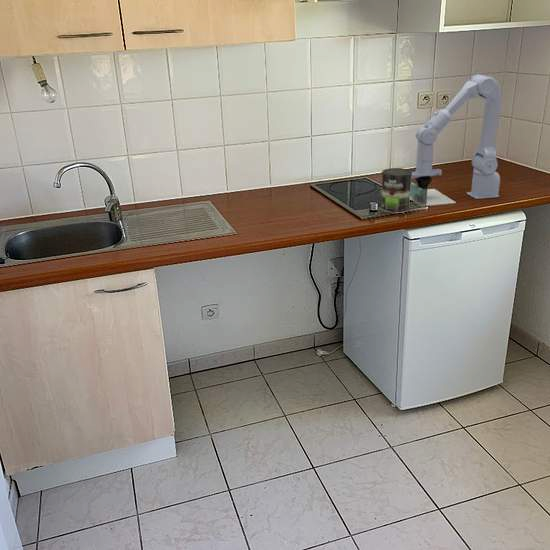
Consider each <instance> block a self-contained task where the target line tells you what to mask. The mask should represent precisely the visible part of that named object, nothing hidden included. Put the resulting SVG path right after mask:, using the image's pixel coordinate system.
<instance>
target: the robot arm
mask: <svg viewBox="0 0 550 550" xmlns="http://www.w3.org/2000/svg"><path fill="white" fill-rule="evenodd" d="M479 97H480V98H481V100H482V101H484V103H485V105H484V113H483V118H482V125H481V132H480V138H479V144H478V147H477V148H476V149H475V152H474V155H473V156H472V158H471V166H472V167H473V171H472V180H471V181H472V182H471V191H467V192H466V194H467V195H468V196H470V197H472V198H473V199H476V200H480V199H490V198H491V199H492V198H500V195H499V191H500V184H501V176H500V174H499V172H497V171H496V170H497V169H498V165H499V164H498V163H499V162H498V160H497V158H498V157H497V152H496V148H495V147H496V146H495V145H496V139H497V133H498V125H499V120H500V114H501V108H502V103H503V102H502V101H503V95H502V93H501V90H500V88H499V82H498V81H497V80H496V79H495V78H494V77H492V76H487V75H483V74H480V73H479V74H478V73H477V74H474V75H472V76H471V77H470V79H469V80H468V81H466V82H465V83H464V85H463V87H462V88H461V89H460V90H459V92H458V93H457V94H456V95H455V96H454V98H452V100H451V101H450V102H449V103H448V104H447V106H446V107H445V108H443V109H439V110H438V111H435V112H434V113H433V116H432V117H431V118H430V119H429V121H427V122H424V125H422V126H420V127H419V128H418V130H417V131H416V133H415V137H416V139H417V149H416V164H415V170H414V171H412V176H411V179H412V180H413V179H415V181H416V185H418V186H419V187H421V188H426V189H428V188H429V187H428V186H429V185H430V184H431V182H432V180H433V179H432V177H435V176H442V173H443V170H442V169H440V168H437V169H435V168H434V169H433V159H434V158H433V156H434V143H435V142H436V141H437V139H438V135H439V134H440V133H441V132H442V130H444V129H445V128H446V127H447V126H448V124H450V123H451V121H452V116H453V115H454V114H455V113H456V112H457V111H459V109H460V108H461V107H462V106H463V105H464V104H465V103H467V101H468V100H471V99H477V98H479Z"/></svg>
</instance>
